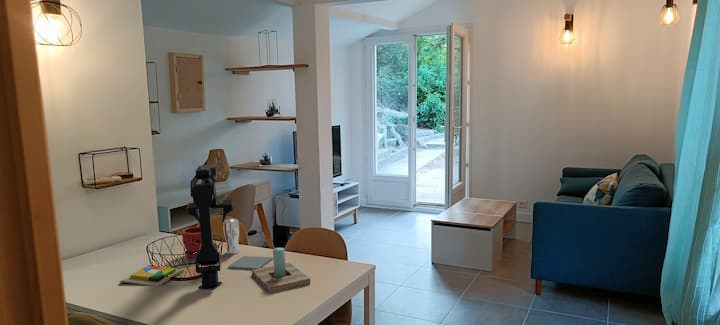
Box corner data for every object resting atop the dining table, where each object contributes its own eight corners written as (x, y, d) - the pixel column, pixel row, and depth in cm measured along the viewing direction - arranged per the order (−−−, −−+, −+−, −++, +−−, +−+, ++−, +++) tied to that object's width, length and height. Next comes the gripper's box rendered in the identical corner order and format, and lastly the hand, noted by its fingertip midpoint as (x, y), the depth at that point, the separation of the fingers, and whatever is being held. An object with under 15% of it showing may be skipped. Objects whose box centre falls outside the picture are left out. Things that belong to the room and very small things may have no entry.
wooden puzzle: (161, 287, 194) (160, 278, 193) (118, 285, 197) (117, 276, 197) (185, 271, 210) (185, 263, 210) (145, 270, 214) (144, 262, 214)
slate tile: (258, 270, 207) (258, 268, 207) (228, 268, 211) (227, 266, 211) (272, 259, 221) (272, 257, 221) (243, 257, 224) (243, 255, 224)
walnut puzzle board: (310, 283, 191) (310, 278, 190) (269, 292, 183) (269, 287, 183) (289, 267, 210) (289, 262, 210) (252, 274, 202) (251, 270, 202)
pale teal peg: (283, 281, 194) (281, 251, 192) (272, 280, 195) (271, 250, 193) (287, 277, 198) (286, 247, 196) (277, 276, 199) (275, 247, 197)
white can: (242, 249, 236) (240, 218, 234) (237, 254, 229) (235, 222, 227) (228, 249, 237) (226, 218, 235) (223, 254, 230) (220, 222, 228)
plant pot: (208, 259, 224) (206, 232, 223) (179, 259, 225) (177, 233, 223) (217, 249, 237) (215, 225, 236) (190, 250, 238) (187, 226, 236)
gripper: (231, 182, 223) (233, 212, 230) (187, 185, 219) (191, 216, 226) (231, 194, 213) (234, 225, 220) (185, 197, 209) (189, 229, 216)
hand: (212, 223), depth 221 cm, fingers open, 9 cm apart
